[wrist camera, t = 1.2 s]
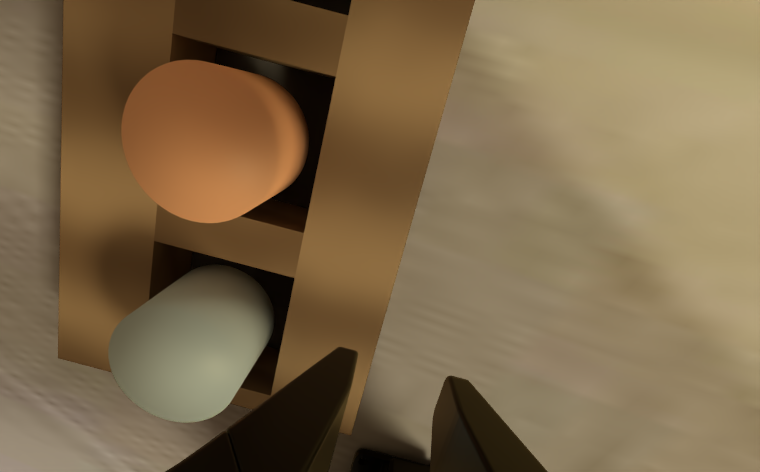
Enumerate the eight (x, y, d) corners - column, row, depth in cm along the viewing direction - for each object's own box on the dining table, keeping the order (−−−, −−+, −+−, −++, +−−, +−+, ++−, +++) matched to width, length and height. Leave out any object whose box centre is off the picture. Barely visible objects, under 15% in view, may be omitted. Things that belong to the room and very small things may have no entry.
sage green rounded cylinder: (265, 372, 19) (228, 436, 16) (165, 346, 19) (105, 403, 16) (283, 280, 18) (248, 326, 14) (175, 252, 18) (111, 290, 14)
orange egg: (296, 210, 17) (263, 240, 13) (183, 181, 17) (116, 201, 13) (320, 90, 16) (290, 84, 12) (196, 58, 16) (126, 40, 12)
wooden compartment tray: (360, 387, 22) (350, 435, 19) (110, 321, 22) (58, 357, 19) (508, -141, 15) (534, -210, 12) (143, -237, 15) (68, -334, 12)
